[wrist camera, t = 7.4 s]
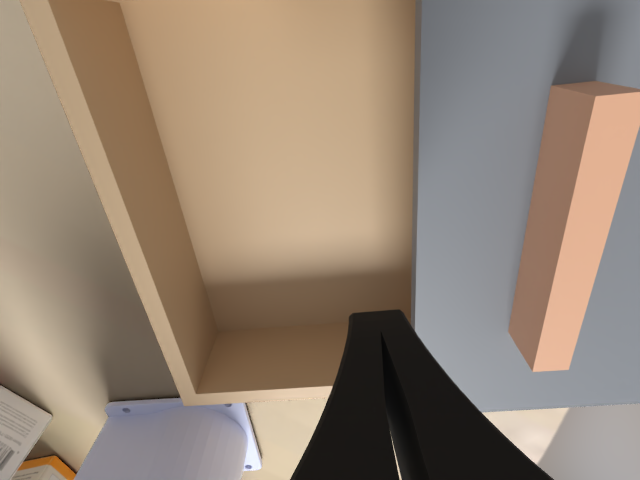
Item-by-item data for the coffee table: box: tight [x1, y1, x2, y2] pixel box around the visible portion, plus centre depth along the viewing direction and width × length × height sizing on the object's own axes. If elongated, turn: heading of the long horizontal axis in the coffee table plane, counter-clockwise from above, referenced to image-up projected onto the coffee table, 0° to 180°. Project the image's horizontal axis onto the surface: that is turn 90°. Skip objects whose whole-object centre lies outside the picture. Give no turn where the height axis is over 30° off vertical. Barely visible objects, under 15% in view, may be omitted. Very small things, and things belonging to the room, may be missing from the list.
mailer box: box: [20, 0, 415, 406], centre depth 16 cm, size 14×18×5 cm
